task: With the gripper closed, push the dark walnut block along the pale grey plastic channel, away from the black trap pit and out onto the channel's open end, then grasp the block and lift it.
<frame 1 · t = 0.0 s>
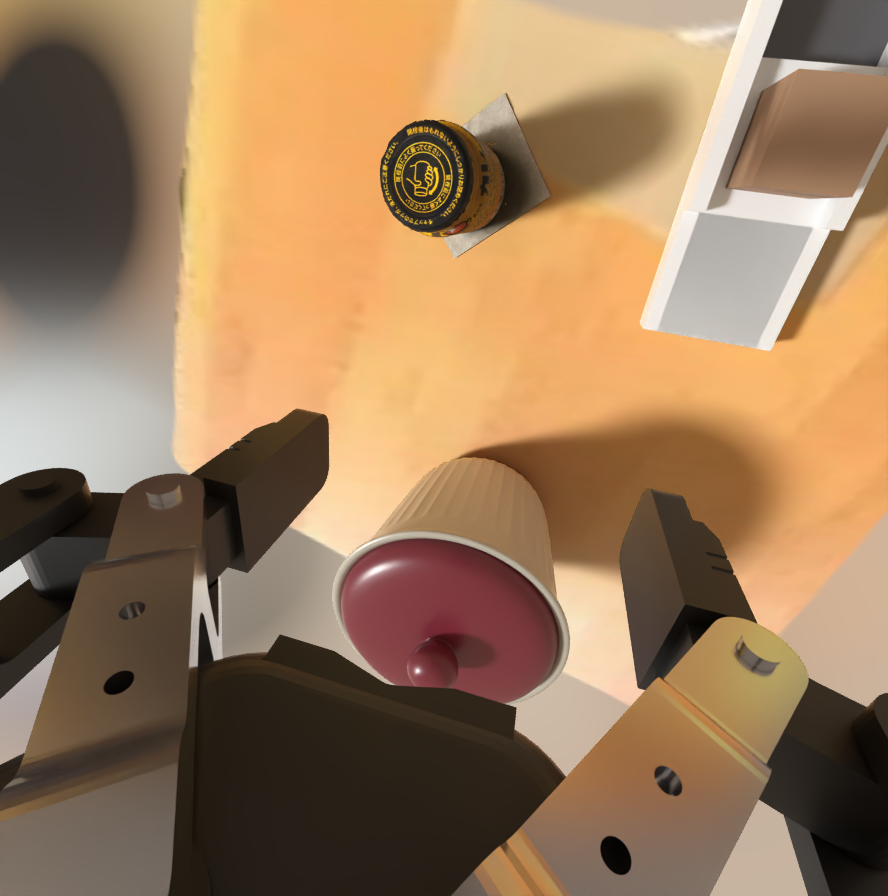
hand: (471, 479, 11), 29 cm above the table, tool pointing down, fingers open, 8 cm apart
walnut block: (786, 146, 27), point 2 cm above the table, touching channel
channel: (773, 150, 29), on the table
canister: (480, 503, 48), on the table
condiment: (478, 183, 34), on the table
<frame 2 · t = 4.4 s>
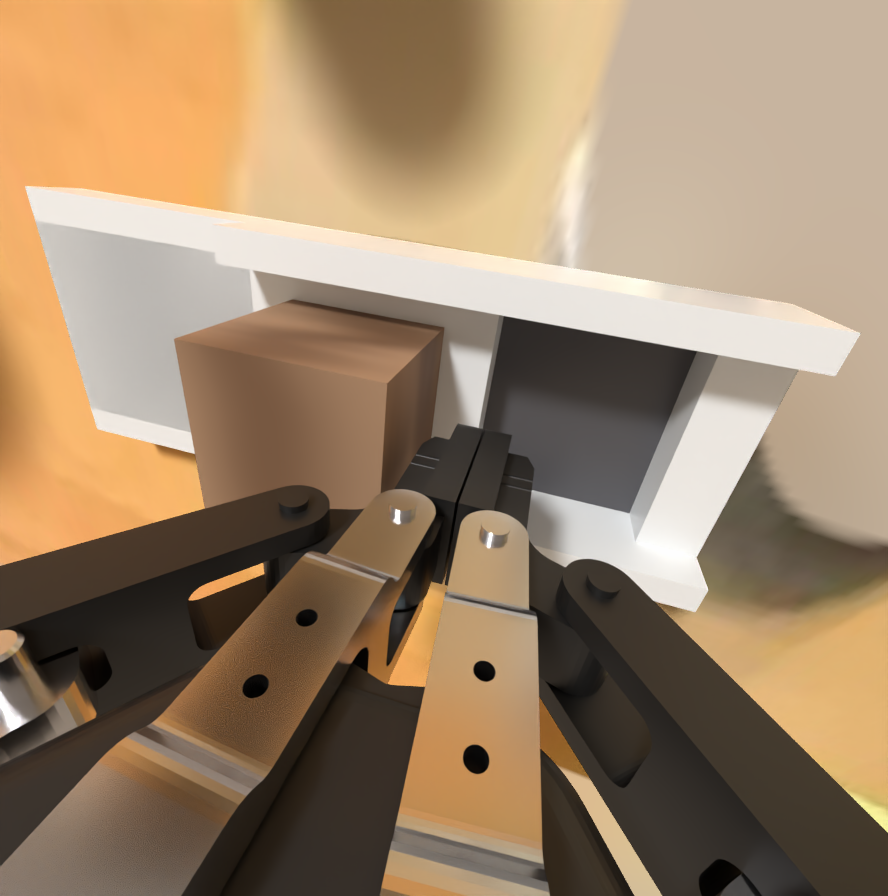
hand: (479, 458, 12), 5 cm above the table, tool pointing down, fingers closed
walnut block: (364, 387, 15), point 2 cm above the table, touching channel, gripper
channel: (385, 370, 17), on the table
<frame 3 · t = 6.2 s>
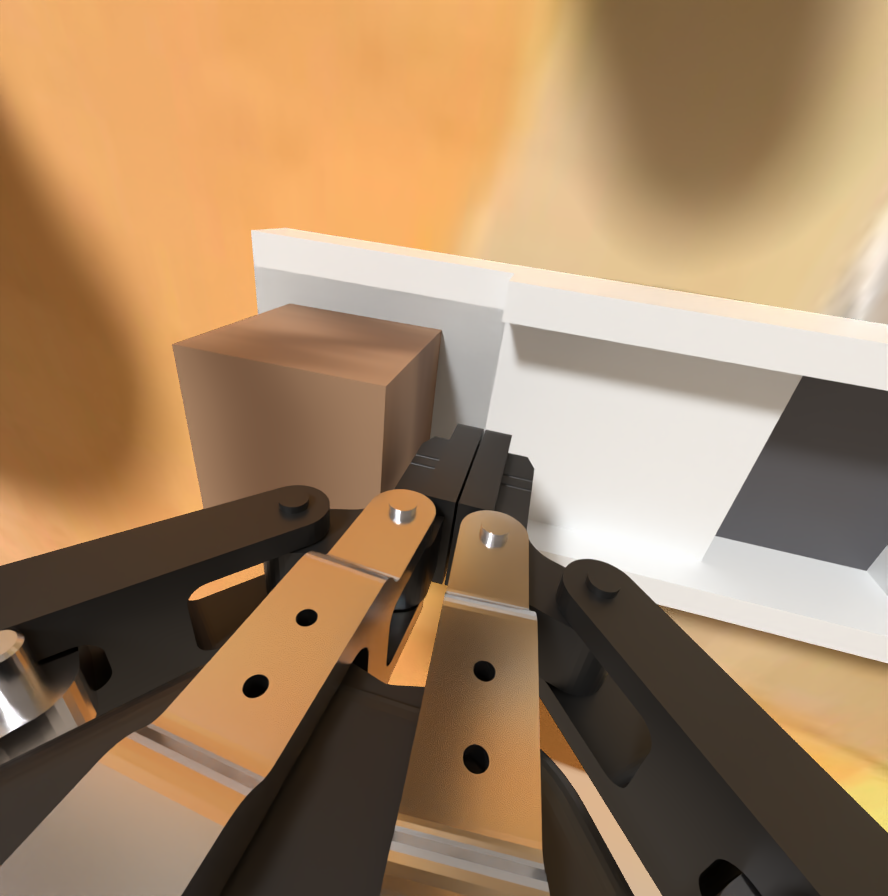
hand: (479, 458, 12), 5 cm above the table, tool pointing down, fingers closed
walnut block: (362, 391, 15), point 2 cm above the table, touching channel, gripper
channel: (606, 419, 16), on the table
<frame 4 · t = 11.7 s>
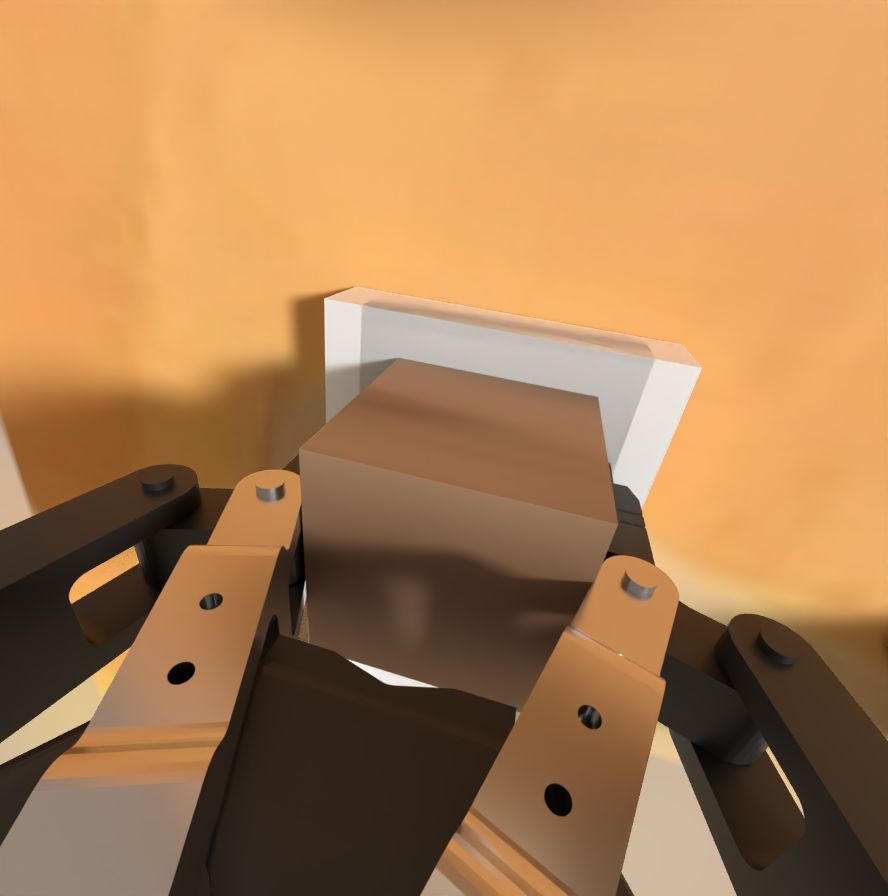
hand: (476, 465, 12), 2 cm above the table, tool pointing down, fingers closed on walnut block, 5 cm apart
walnut block: (479, 461, 12), point 2 cm above the table, touching channel, gripper
channel: (453, 611, 18), on the table
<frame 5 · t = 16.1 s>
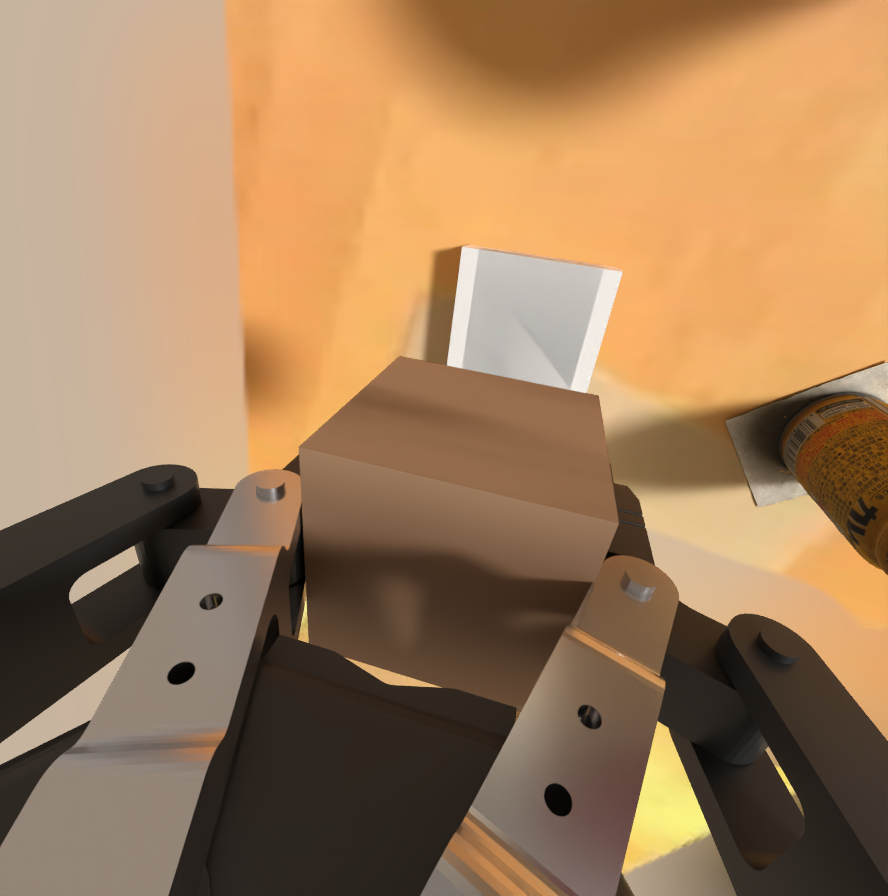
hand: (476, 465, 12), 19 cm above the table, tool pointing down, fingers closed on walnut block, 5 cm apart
walnut block: (479, 460, 12), point 19 cm above the table, touching gripper
channel: (504, 432, 33), on the table
condiment: (814, 438, 28), on the table
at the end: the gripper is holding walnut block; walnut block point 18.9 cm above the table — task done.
